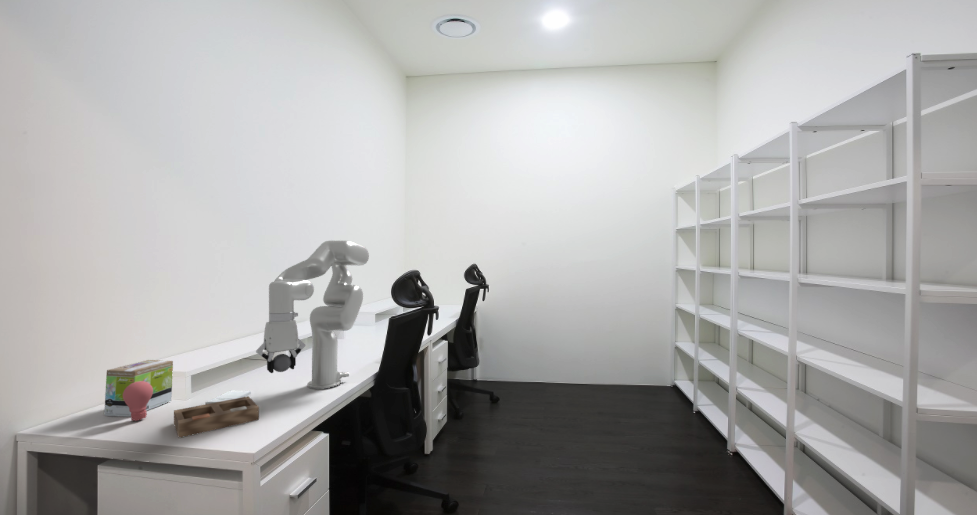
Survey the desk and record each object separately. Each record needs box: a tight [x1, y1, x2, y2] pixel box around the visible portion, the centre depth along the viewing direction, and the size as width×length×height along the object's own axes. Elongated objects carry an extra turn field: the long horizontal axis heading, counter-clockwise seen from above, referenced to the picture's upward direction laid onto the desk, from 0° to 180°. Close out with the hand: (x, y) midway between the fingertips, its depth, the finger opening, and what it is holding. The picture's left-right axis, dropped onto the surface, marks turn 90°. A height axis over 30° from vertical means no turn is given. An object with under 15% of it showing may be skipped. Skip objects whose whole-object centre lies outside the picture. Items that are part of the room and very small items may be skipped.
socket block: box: [173, 395, 260, 438], centre depth 126 cm, size 20×14×4 cm
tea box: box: [103, 359, 174, 418], centre depth 136 cm, size 15×10×15 cm
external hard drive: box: [204, 389, 252, 405], centre depth 146 cm, size 2×8×12 cm
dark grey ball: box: [272, 353, 291, 373], centre depth 139 cm, size 6×6×6 cm
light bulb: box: [123, 381, 153, 421], centre depth 126 cm, size 7×7×12 cm
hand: (281, 369), depth 139 cm, fingers closed on dark grey ball, 5 cm apart
